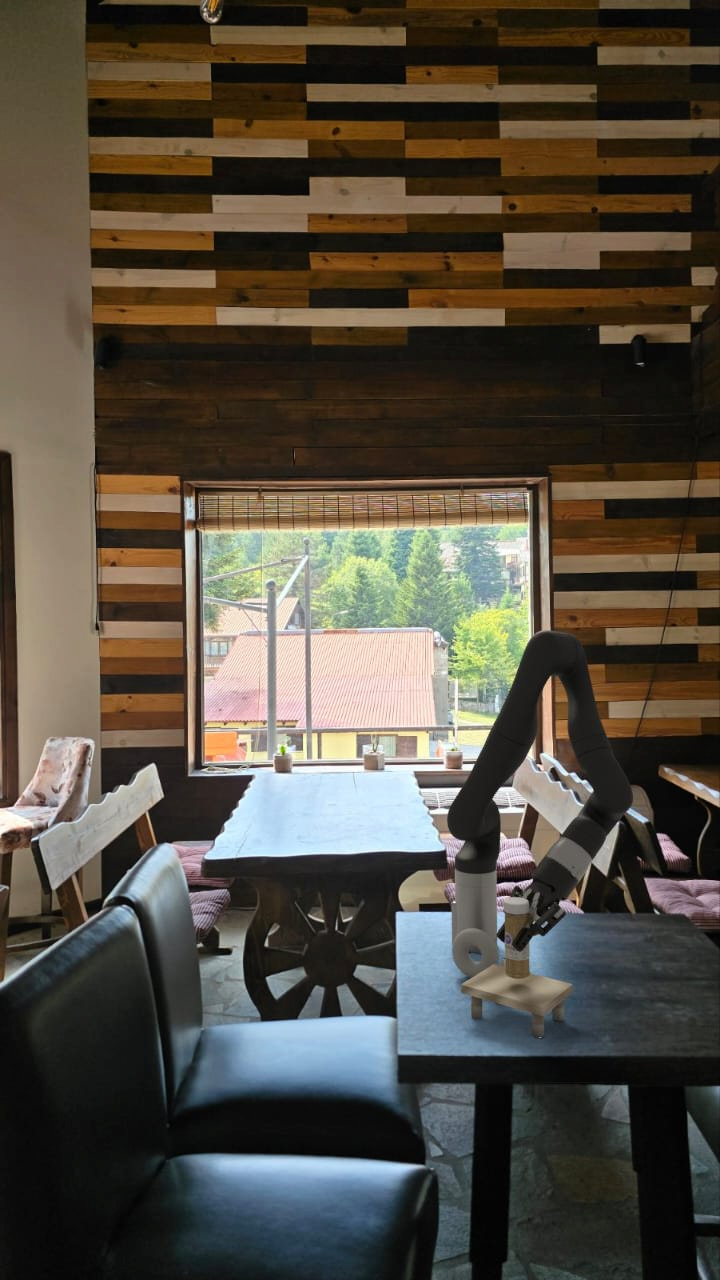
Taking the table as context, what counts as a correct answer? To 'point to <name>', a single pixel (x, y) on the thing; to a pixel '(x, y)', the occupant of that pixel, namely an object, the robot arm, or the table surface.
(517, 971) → the sprinkles bottle
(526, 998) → the small wooden stool
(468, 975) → the donut
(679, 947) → the table surface
